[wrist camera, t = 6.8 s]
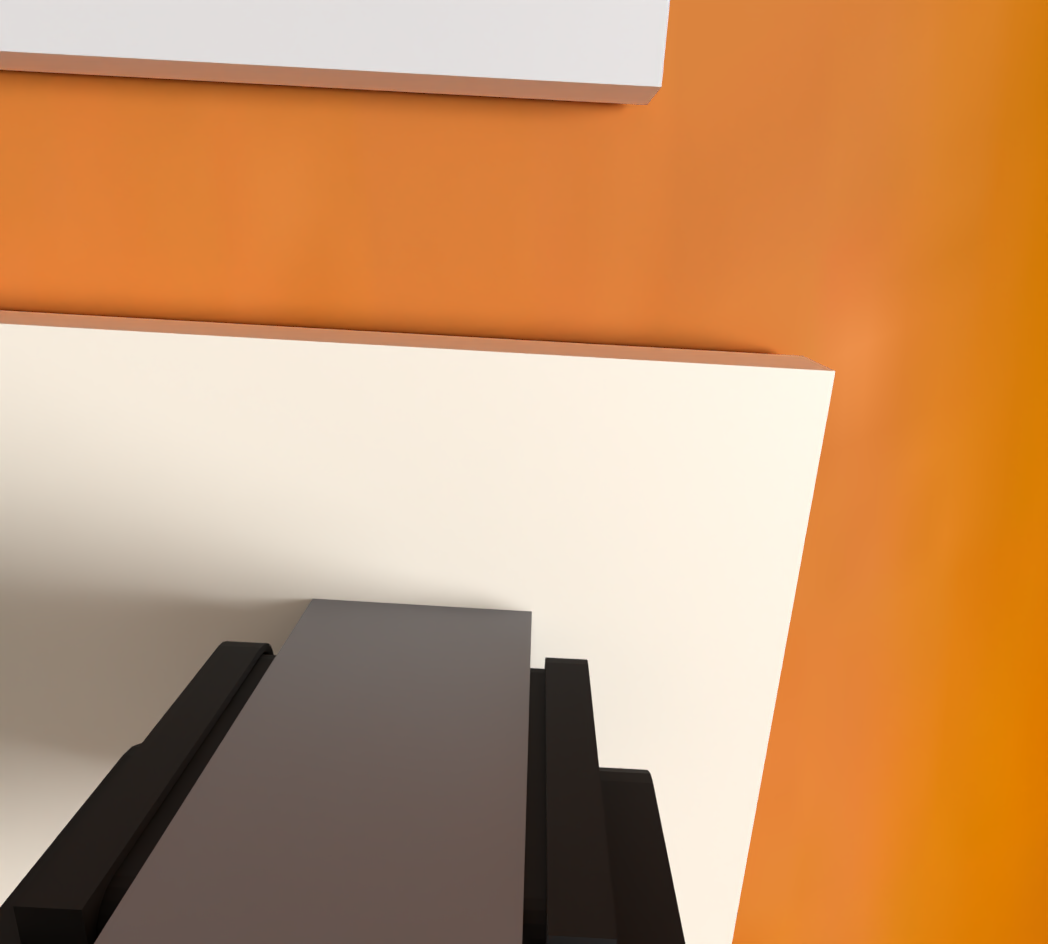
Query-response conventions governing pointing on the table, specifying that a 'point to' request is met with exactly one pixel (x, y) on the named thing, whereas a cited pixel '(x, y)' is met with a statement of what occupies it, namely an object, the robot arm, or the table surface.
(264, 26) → the empty strip
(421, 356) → the strip
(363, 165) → the table surface
